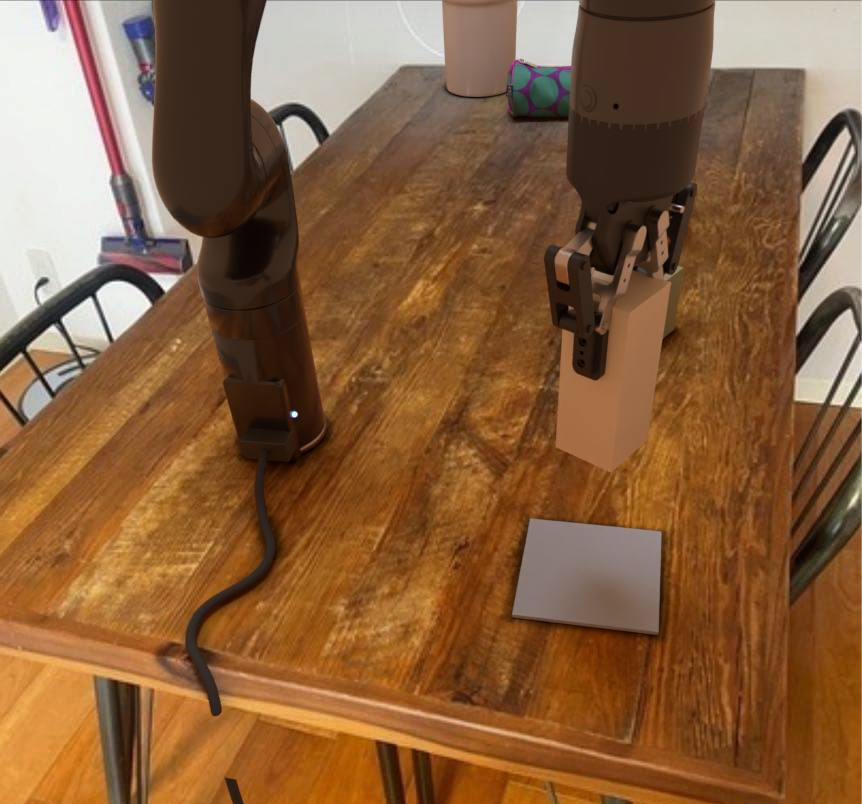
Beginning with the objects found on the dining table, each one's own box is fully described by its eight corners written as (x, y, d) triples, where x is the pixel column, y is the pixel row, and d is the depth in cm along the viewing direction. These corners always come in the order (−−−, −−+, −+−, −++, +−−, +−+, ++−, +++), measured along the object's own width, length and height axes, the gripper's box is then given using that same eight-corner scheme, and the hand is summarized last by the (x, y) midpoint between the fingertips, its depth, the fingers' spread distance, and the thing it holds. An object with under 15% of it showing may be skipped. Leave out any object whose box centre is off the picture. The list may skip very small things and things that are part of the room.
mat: (657, 635, 70) (658, 632, 69) (511, 617, 72) (511, 614, 72) (661, 534, 78) (661, 531, 78) (530, 521, 80) (530, 518, 80)
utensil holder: (483, 70, 180) (481, -28, 168) (533, 84, 171) (535, -18, 159) (429, 88, 174) (423, -13, 161) (478, 104, 165) (476, -1, 153)
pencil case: (505, 125, 156) (505, 67, 149) (507, 108, 162) (507, 52, 155) (621, 121, 154) (627, 62, 147) (618, 104, 160) (623, 47, 153)
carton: (564, 290, 56) (629, 313, 54) (607, 261, 59) (671, 282, 56) (555, 447, 65) (610, 473, 63) (592, 416, 68) (647, 440, 65)
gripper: (623, 149, 42) (598, 425, 54) (760, 70, 50) (711, 329, 62) (505, 121, 46) (505, 385, 58) (647, 52, 54) (622, 299, 65)
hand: (611, 355), depth 60 cm, fingers closed on carton, 5 cm apart
